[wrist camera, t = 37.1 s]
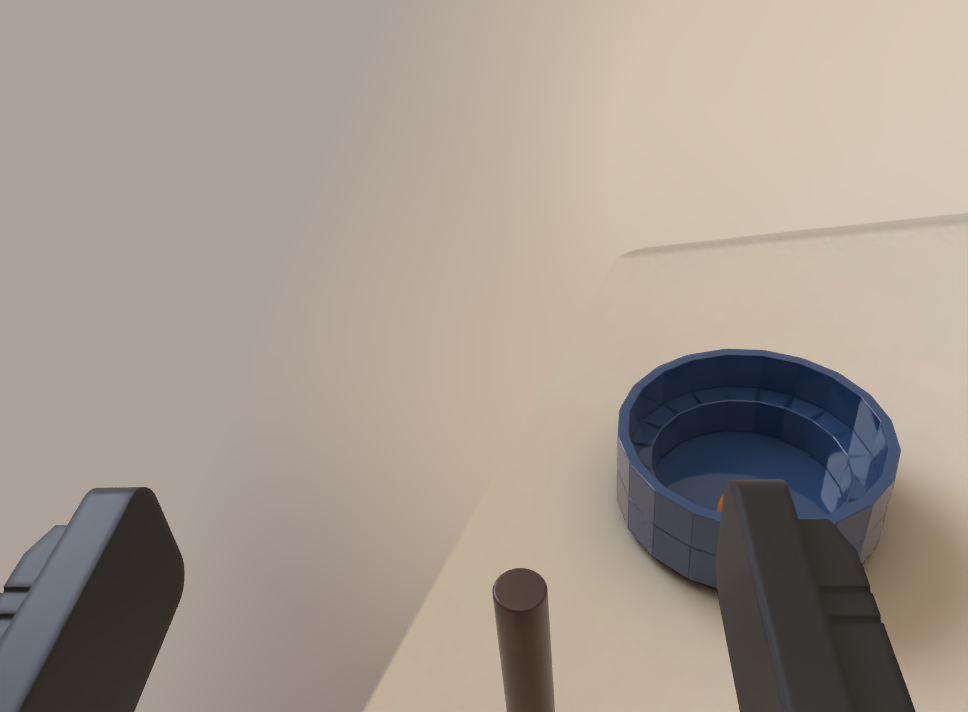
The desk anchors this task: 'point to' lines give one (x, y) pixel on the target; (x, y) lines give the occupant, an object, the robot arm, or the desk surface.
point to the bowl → (749, 450)
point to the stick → (524, 640)
